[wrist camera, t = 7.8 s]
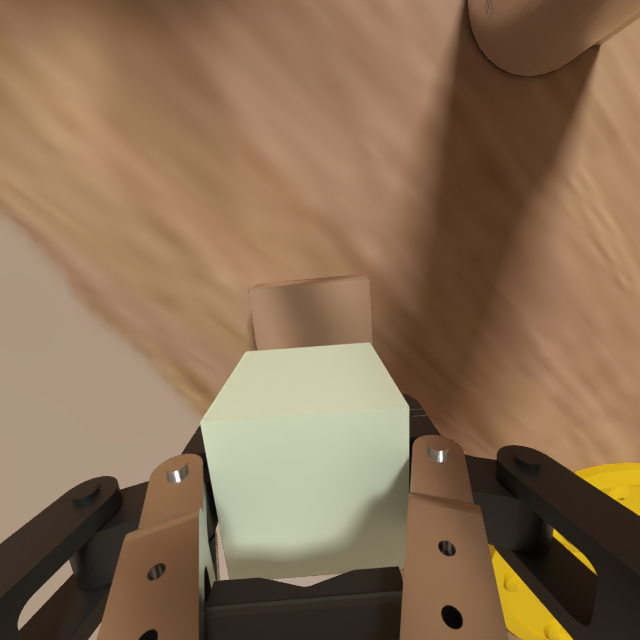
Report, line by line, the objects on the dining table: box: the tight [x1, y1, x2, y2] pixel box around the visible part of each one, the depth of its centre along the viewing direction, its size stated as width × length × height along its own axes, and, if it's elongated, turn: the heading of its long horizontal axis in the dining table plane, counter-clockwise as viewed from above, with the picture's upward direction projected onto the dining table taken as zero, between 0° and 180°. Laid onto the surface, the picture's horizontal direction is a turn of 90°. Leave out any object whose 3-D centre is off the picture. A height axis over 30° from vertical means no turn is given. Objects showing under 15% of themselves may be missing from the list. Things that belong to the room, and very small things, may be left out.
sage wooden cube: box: [200, 342, 409, 580], centre depth 10 cm, size 5×5×5 cm
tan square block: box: [248, 274, 373, 351], centre depth 22 cm, size 8×8×4 cm
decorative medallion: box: [489, 463, 640, 640], centre depth 30 cm, size 24×24×2 cm
